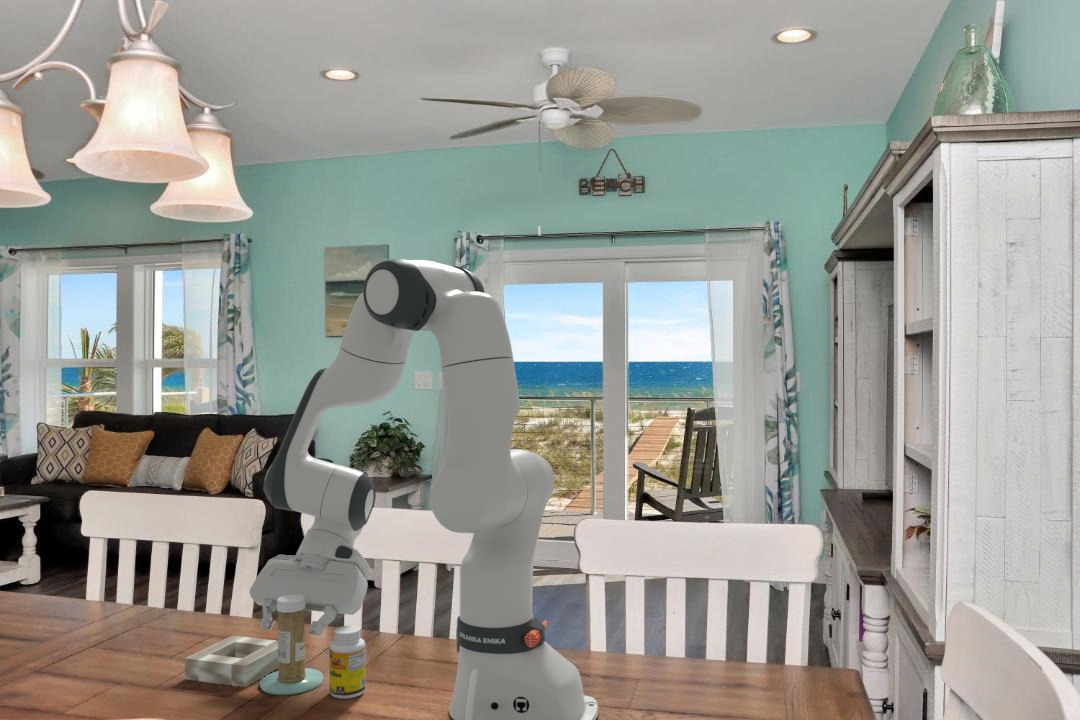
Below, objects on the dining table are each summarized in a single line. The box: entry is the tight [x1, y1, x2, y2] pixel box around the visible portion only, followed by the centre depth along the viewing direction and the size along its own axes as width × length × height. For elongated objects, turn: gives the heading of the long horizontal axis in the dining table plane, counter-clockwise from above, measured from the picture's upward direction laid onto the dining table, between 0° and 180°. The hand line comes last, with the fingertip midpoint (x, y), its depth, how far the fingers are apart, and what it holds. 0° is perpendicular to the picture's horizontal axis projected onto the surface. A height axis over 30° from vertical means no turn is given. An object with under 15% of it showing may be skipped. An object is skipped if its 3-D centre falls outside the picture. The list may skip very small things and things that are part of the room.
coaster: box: [259, 667, 324, 696], centre depth 137 cm, size 10×10×1 cm
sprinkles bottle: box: [276, 595, 306, 683], centre depth 137 cm, size 5×5×14 cm
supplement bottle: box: [329, 625, 366, 700], centre depth 132 cm, size 6×6×10 cm
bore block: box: [184, 635, 278, 688], centre depth 142 cm, size 12×12×4 cm
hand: (289, 631), depth 136 cm, fingers open, 8 cm apart
